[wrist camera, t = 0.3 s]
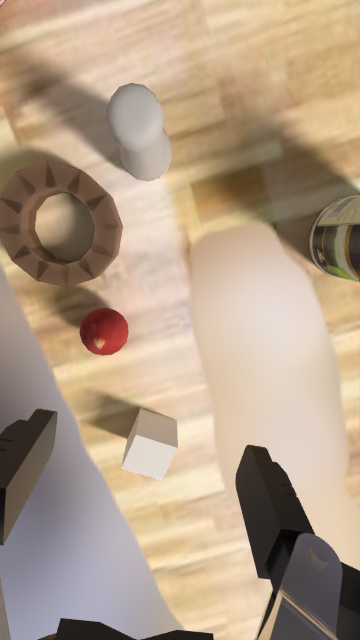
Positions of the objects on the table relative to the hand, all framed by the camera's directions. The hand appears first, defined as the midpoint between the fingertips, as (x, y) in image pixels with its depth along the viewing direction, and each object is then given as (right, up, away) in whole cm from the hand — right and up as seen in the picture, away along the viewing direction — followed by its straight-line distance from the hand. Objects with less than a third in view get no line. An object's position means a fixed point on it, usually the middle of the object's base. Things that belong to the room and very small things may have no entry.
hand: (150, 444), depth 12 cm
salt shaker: (-3, +24, +22) cm, 33 cm away
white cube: (-3, -12, +33) cm, 35 cm away
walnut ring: (-13, +17, +23) cm, 31 cm away
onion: (-8, +5, +27) cm, 29 cm away
